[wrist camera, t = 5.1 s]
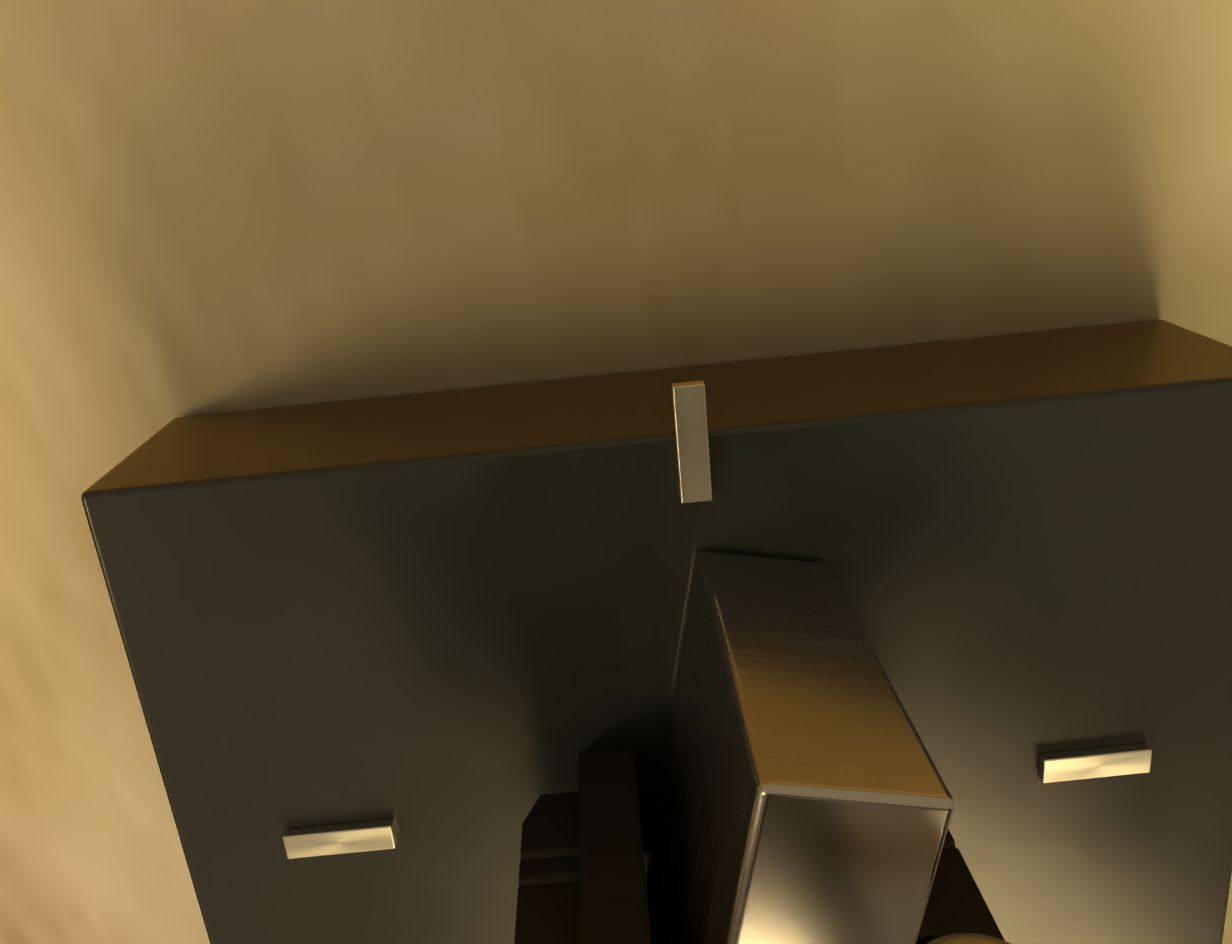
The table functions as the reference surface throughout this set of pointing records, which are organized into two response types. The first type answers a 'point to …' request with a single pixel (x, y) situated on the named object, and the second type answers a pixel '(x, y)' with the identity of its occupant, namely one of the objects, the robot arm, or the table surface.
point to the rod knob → (788, 772)
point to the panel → (657, 610)
